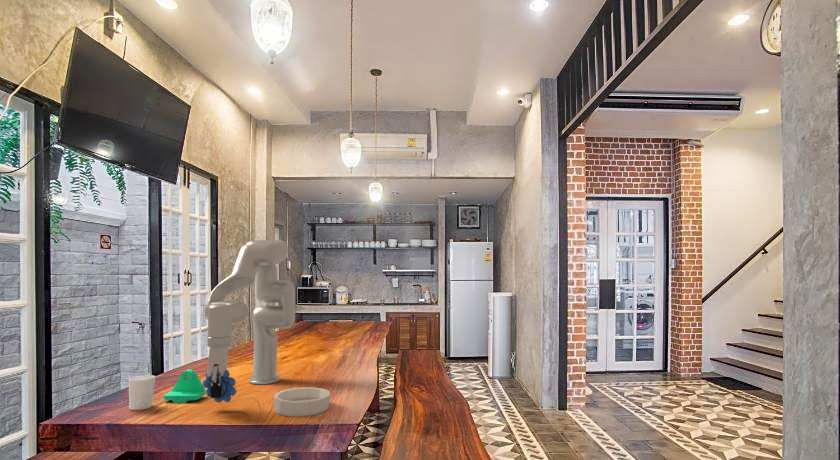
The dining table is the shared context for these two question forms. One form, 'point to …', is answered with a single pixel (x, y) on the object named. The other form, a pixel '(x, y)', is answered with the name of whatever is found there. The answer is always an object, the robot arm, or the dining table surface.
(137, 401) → the white cup
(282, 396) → the fruit bowl
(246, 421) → the dining table surface
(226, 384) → the blue gear
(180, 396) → the camera mount
